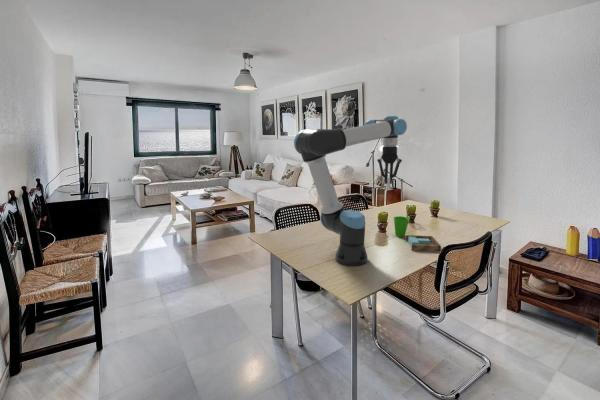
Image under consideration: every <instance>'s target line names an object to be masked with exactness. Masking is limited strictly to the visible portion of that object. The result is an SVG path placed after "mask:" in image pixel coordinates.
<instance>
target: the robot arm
mask: <svg viewBox="0 0 600 400" xmlns="http://www.w3.org/2000/svg"><path fill="white" fill-rule="evenodd" d="M407 128H408V125H407V122H406V120H405V119H403V118H399V117H398V116H397V115H391V116H390V115H386V116H384V117H383V119H369V120H366V121H365V123H364V125H359V126H354V127H350V128H346V129H342V128H338V127H337V128H333V129H330V128H329V129H328V128H327V129H326V128H325V129H324V128H307V129H302V130H300V131H298V132H297V134H296V135H295V138H294V140H293V147H294V149H295V151H296V152H297V153H298V154H300V156H301V158H302V161H303V162H304V164H305V163H306V164H307V166H308V168H309V172H310V174H311V177H312V181H313V182H314V186H315V189H316V192H317V195H318V197H319V200H320V201H319V202H320V204H321V206H322V207H321V208H320V216H319V219H320V224H321V225H322V226H323V227H324V228H325V229H326V230H328V231H331V232H332V233H335V234H338V236H339V245H338V247H337V251H336V254H335V261H336V262H337V263H339V264H341V265H344V266H350V267H351V266H352V267H353V266H354V267H356V266H357V267H359V266H363V265H365V264H367V263H368V258H369V257H368V254H367V253H368V252H367V249H366V247H365V237H366V218H365V217H366V216H365V215H364V213H362V212H361V211H358V210H352V209H346V210H345V207H344V204H343V202H341V201H339V198H338V196H337V192H336V189H335V186H334V182H333V179H332V176H331V173H330V170H329V167H328V164H327V161H326V156H327V155H329V154H332V153H333V154H334V153H336V152H340V151H344V150H345V149H346V147H350V146H355V145H358V144H363V143H366V142H370V141H376V140H379V139H382V152H381V153H382V155H381V157H380V158H377V160H376V161H377V162H378V165H379V170H380V175H381V177H382V178H384V184H385V186H386V188H385V190H386V191H390V190H391V185H392V184H393V178H396V177H397V174H398V169H399V167H400V165H401V163H402V162H403V160H402V159H401V158H399V156H398V147H397V146H398V141H399V139H398V137H399V136H403V135H404V134H405V133H406V131H407ZM383 162H384V167H383ZM395 162H396V164H395ZM394 164H395V167H394ZM388 174H389V177H388Z"/></svg>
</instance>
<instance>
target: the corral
mask: <svg viewBox="0 0 600 400" xmlns="http://www.w3.org/2000/svg"><path fill="white" fill-rule="evenodd" d="M408 236H415V237H416V238H421V239H429V240H430V245H418V244H412V247H411V246H410V248H411V249H410V250H411V251H414V252H415V251H416V252H438V253H439V252H441V250H442V249H441V248H442V245H440V243H439V242H438V241H437V240H436V239H435V237H434V236H433V235H413V234H412V235H410V234H408V235H407V234H405V242H408Z"/></svg>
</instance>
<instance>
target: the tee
mask: <svg viewBox="0 0 600 400" xmlns="http://www.w3.org/2000/svg"><path fill="white" fill-rule="evenodd" d="M415 236H416V235H415ZM415 236H408V241H407V243H408V244H409V246H410V248H411V247H412V244H418V245H431V242H430V240H429V239H421V238H416V237H415Z"/></svg>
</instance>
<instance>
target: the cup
mask: <svg viewBox="0 0 600 400" xmlns="http://www.w3.org/2000/svg"><path fill="white" fill-rule="evenodd" d="M392 219H393V223H394V224H393V225H394V231H395V233H394V235H395V237H396V238H402V239H403V238H405V237H406V234H407V229H408V225H409V221H410V218H409V217H407V216H402V215H398V216H394V217H393V218H392Z"/></svg>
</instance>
